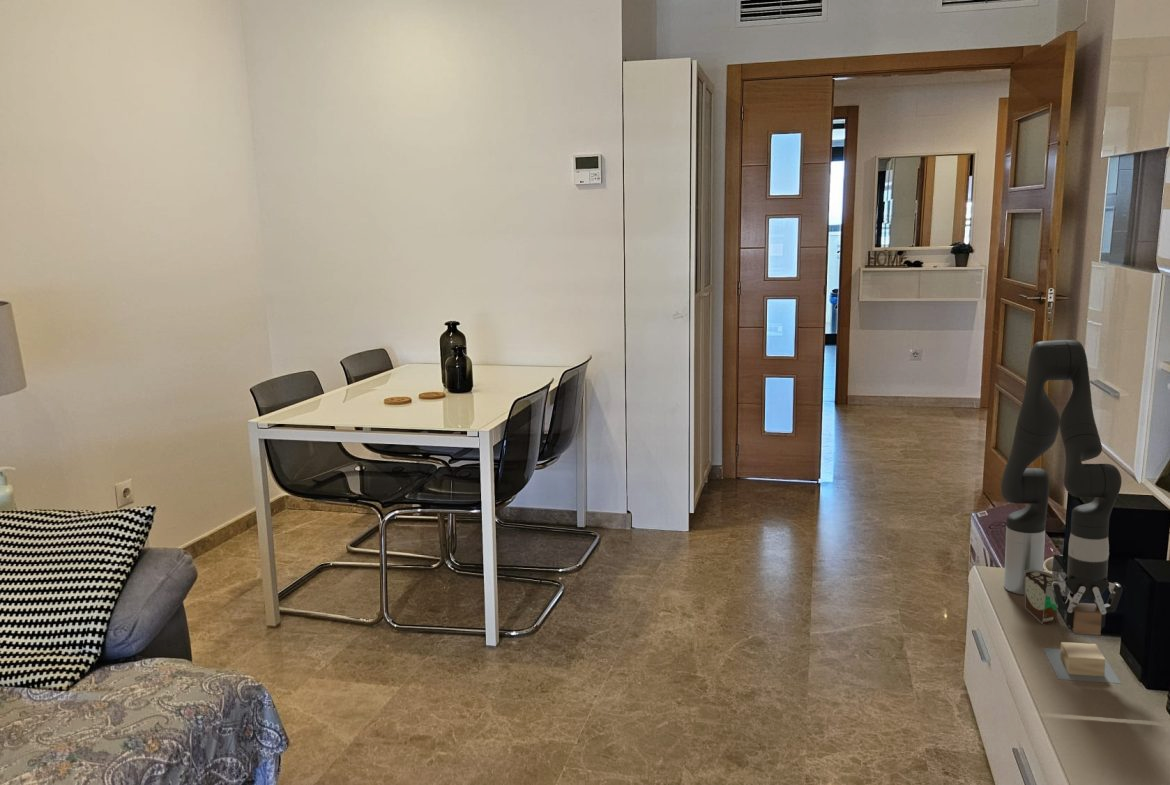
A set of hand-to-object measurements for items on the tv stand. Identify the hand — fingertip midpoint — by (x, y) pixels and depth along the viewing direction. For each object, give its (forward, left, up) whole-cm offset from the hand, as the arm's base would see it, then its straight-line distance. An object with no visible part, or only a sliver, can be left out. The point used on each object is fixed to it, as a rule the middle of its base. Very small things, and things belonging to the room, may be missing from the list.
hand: (1084, 627), depth 195 cm
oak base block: (0, 0, -10) cm, 10 cm away
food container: (-27, -1, -10) cm, 29 cm away
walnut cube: (0, 0, 0) cm, 0 cm away
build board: (-1, 0, -10) cm, 10 cm away
